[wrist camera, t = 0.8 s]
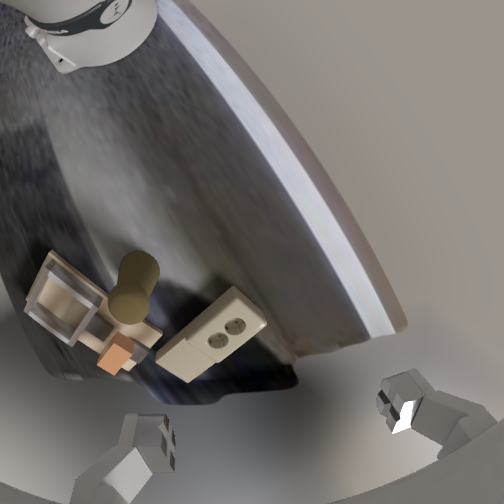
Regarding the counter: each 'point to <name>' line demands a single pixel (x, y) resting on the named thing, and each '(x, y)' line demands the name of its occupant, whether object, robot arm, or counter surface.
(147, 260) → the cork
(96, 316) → the rail panel
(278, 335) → the counter surface
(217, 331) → the electrical outlet
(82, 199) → the counter surface
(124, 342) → the block
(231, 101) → the counter surface
